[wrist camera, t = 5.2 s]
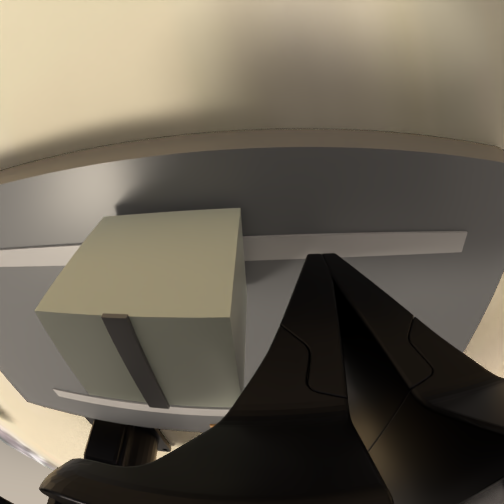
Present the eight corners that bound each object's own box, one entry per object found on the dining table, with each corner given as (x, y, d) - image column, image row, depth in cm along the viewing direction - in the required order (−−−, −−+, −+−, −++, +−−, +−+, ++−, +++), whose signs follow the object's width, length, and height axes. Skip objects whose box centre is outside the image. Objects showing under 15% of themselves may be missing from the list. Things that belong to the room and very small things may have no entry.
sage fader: (247, 296, 10) (243, 412, 7) (129, 297, 10) (89, 398, 7) (240, 206, 8) (229, 319, 5) (103, 215, 8) (31, 311, 5)
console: (412, 383, 18) (422, 414, 16) (38, 377, 19) (27, 402, 17) (497, 146, 10) (537, 169, 7) (-61, 192, 11) (-90, 214, 8)
